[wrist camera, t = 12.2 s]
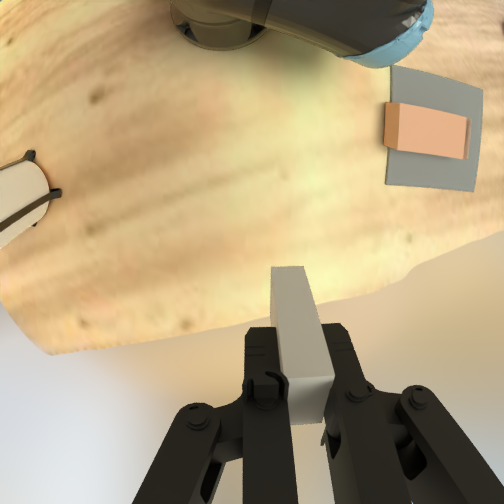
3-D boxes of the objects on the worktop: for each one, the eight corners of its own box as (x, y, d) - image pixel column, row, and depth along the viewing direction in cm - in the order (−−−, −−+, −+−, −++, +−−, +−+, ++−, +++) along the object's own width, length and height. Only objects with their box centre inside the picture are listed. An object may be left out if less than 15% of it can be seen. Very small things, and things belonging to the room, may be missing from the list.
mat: (390, 65, 38) (392, 64, 37) (481, 89, 38) (483, 89, 37) (385, 183, 47) (386, 184, 46) (472, 191, 47) (473, 192, 46)
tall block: (399, 102, 36) (471, 118, 36) (385, 102, 40) (454, 115, 40) (397, 150, 39) (467, 160, 39) (383, 145, 43) (451, 154, 43)
